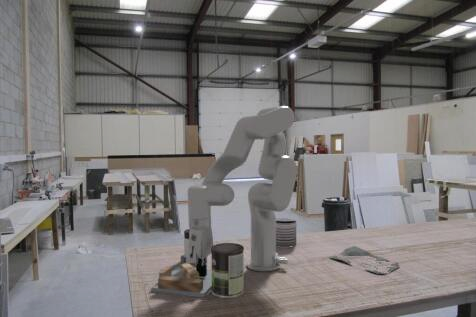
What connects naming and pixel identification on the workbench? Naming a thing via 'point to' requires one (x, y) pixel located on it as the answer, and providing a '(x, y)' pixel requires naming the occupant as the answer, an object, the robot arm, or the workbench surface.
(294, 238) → the can
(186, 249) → the jar
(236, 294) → the coffee can
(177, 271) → the jig board
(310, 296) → the workbench surface
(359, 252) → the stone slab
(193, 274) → the oak leg
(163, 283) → the fixed rail
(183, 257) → the pivot pin
